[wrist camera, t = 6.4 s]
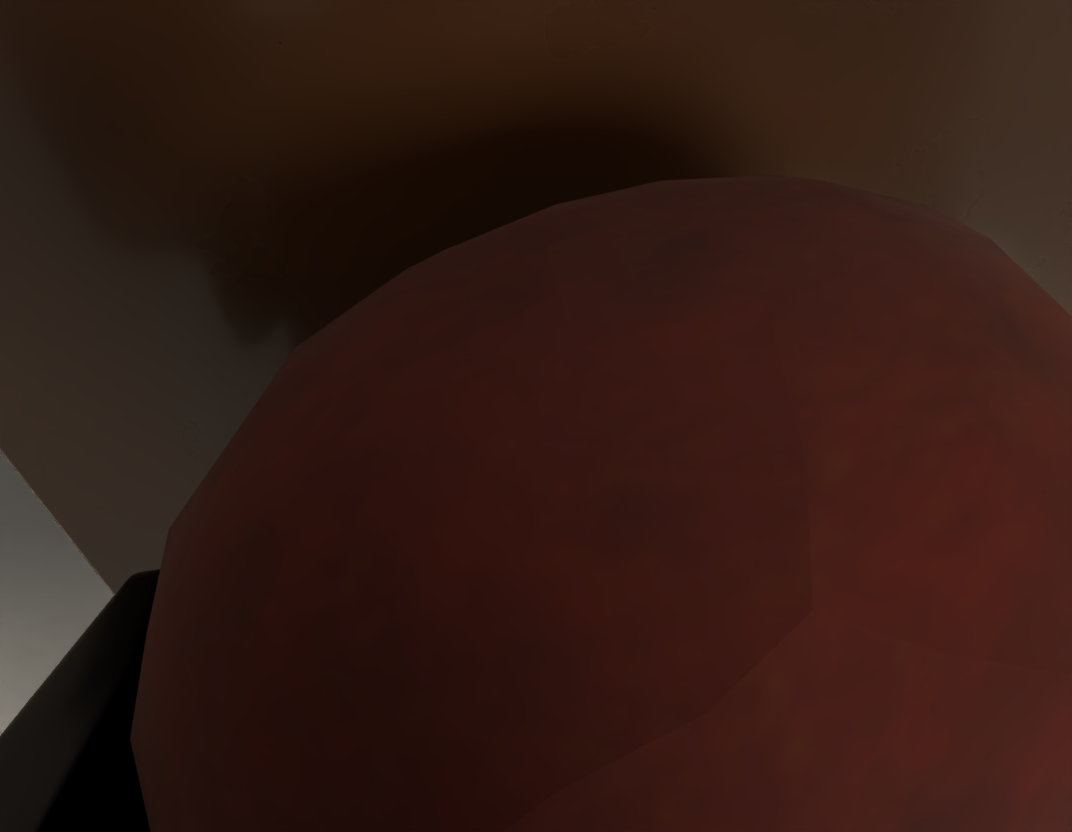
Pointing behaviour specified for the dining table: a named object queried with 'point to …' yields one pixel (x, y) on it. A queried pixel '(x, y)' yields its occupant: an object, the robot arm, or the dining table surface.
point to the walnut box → (427, 179)
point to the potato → (639, 539)
